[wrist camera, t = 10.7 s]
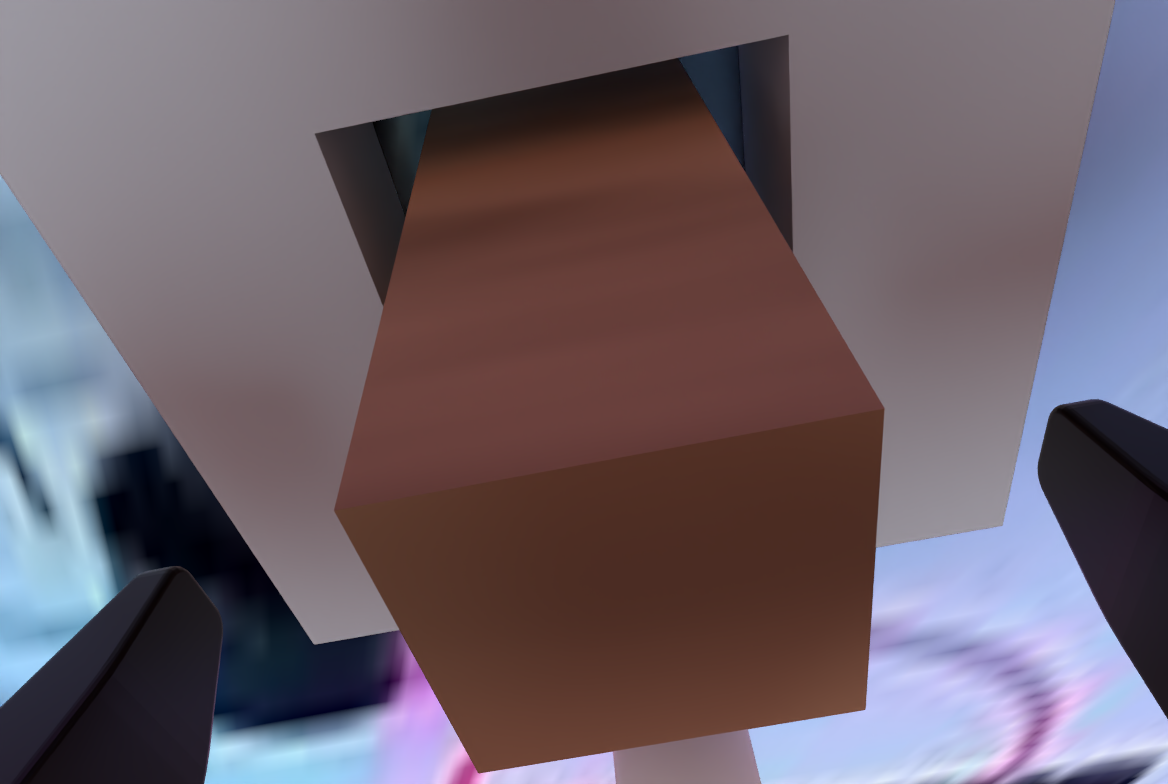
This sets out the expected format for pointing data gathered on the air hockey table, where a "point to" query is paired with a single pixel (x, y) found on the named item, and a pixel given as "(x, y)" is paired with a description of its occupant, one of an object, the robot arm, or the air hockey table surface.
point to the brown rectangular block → (611, 435)
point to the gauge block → (509, 64)
